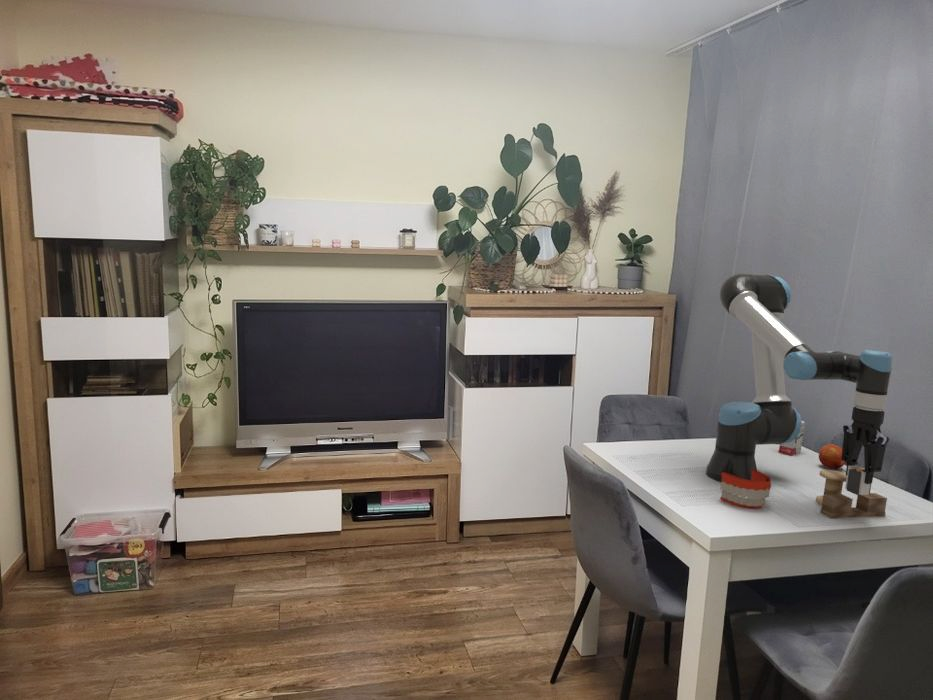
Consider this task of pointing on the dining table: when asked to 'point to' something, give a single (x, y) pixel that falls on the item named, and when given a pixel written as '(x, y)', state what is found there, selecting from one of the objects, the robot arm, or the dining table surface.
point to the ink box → (793, 444)
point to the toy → (745, 490)
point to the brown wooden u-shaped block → (843, 507)
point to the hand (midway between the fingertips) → (856, 491)
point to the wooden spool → (832, 483)
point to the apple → (831, 456)
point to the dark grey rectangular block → (855, 480)
